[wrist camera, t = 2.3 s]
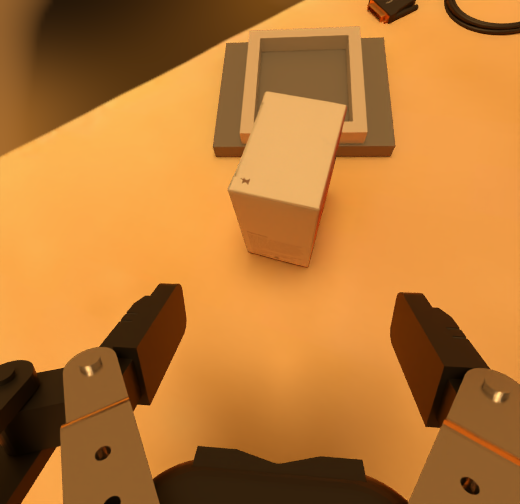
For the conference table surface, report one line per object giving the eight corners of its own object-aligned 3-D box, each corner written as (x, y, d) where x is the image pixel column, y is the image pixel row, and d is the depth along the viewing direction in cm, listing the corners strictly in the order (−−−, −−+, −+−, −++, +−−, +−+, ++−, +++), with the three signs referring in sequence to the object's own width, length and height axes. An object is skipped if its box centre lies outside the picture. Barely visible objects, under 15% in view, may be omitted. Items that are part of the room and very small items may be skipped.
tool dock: (379, 50, 35) (387, 23, 32) (390, 156, 30) (400, 134, 27) (228, 55, 37) (223, 29, 34) (216, 156, 32) (209, 136, 29)
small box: (308, 269, 27) (320, 213, 17) (246, 253, 28) (224, 191, 18) (329, 190, 30) (350, 102, 20) (271, 177, 31) (265, 87, 21)
